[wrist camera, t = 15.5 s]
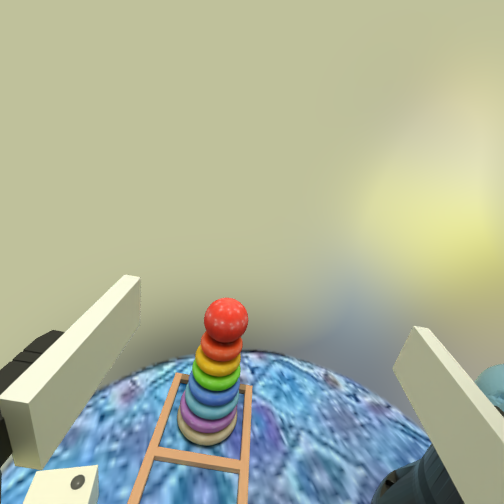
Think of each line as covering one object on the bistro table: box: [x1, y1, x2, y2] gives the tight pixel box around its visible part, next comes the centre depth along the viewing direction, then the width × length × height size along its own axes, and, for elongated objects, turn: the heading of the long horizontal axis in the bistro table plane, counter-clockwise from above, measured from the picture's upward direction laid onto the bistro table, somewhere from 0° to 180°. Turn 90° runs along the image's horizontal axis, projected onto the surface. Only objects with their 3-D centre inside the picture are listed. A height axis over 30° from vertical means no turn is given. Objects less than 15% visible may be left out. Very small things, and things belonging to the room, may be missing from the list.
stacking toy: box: [177, 298, 248, 445], centre depth 34 cm, size 8×8×19 cm
